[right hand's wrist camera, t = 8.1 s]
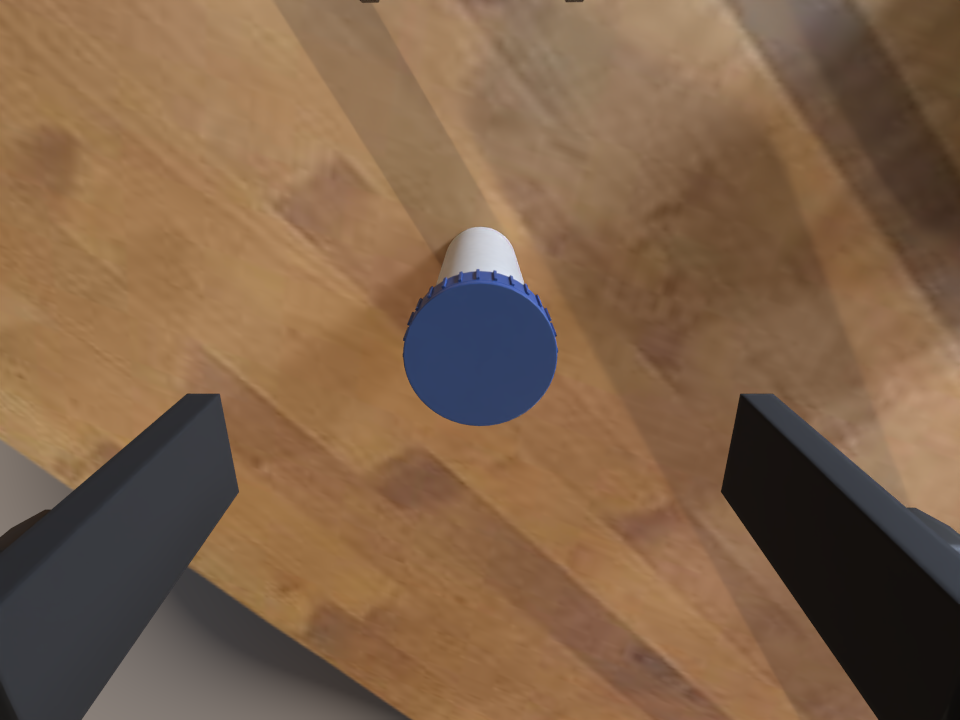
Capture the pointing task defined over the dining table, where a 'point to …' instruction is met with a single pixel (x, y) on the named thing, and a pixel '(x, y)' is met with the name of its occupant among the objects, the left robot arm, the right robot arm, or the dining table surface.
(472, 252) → the jar
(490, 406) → the lid
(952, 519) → the dining table surface
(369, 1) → the left robot arm
